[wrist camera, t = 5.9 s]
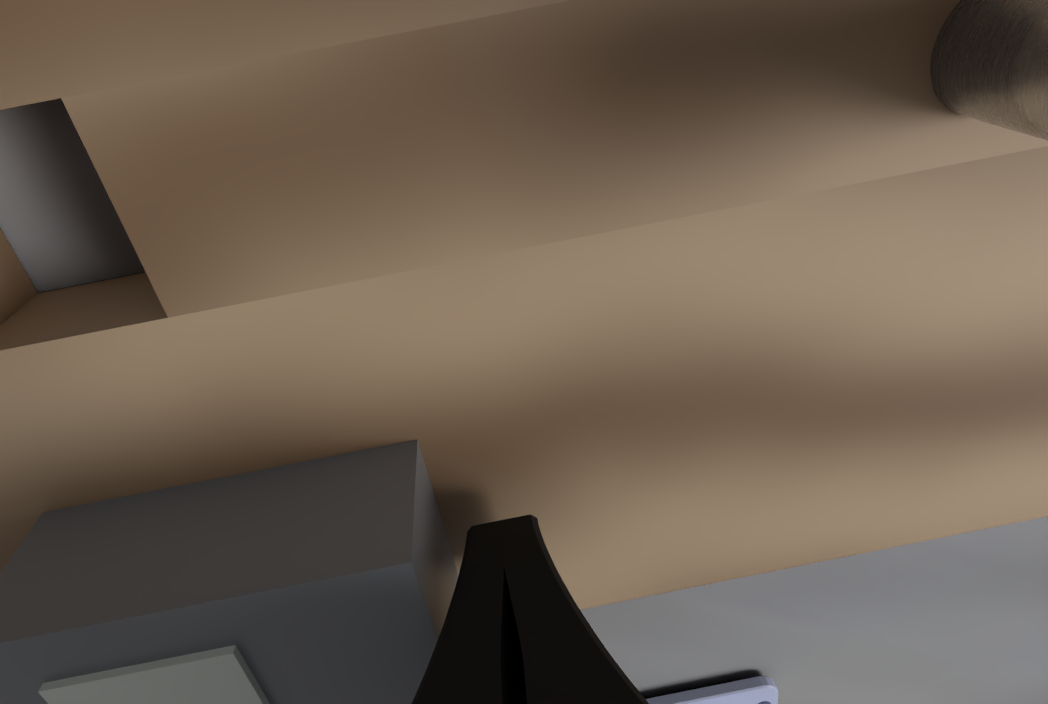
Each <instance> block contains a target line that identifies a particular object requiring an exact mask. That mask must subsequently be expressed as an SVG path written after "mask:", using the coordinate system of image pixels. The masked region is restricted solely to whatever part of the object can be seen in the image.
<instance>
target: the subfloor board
mask: <svg viewBox="0 0 1048 704" xmlns="http://www.w3.org/2000/svg"><path fill="white" fill-rule="evenodd" d="M960 1H961V0H0V110H2V109H7V108H13V107H18V106H23V105H28V104H33V103H39V102H44V101H49V100H54V99H59V98H61V99H62V101H63V103H64V105H65V107H66V109H67V111H68V113H69V116H70V118H71V120H72V122H73V124H74V126H75V128H76V130H77V132H78V134H79V136H80V138H81V140H82V142H83V144H84V146H85V148H86V150H87V153H88V155H89V157H90V159H91V161H92V163H93V165H94V167H95V169H96V171H97V173H98V175H99V177H100V179H101V181H102V183H103V185H104V187H105V190H106V192H107V194H108V196H109V198H110V200H111V202H112V204H113V206H114V208H115V210H116V212H117V214H118V216H119V218H120V220H121V222H122V224H123V226H124V229H125V231H126V233H127V235H128V237H129V239H130V241H131V243H132V245H133V247H134V249H135V251H136V253H137V255H138V257H139V259H140V261H141V263H142V266H143V268H144V270H145V272H146V273H141V274H135V275H130V276H125V277H120V278H115V279H110V280H105V281H99V282H94V283H89V284H84V285H79V286H74V287H69V288H63V289H58V290H53V291H48V292H43V293H38V292H37V290H36V288H35V287H34V285H33V283H32V281H31V280H30V278H29V276H28V275H27V273H26V271H25V269H24V268H23V266H22V264H21V263H20V261H19V259H18V257H17V256H16V254H15V252H14V251H13V249H12V247H11V245H10V244H9V242H8V240H7V239H6V237H5V235H4V233H3V232H2V230H1V228H0V572H1V570H2V569H3V568H4V566H5V565H6V563H7V562H8V561H9V559H10V558H11V557H12V555H13V554H14V552H15V551H16V550H17V548H18V547H19V546H20V544H21V543H22V541H23V540H24V539H25V537H26V536H27V535H28V533H29V532H30V530H31V529H32V528H33V526H34V525H35V524H36V522H37V521H38V519H39V518H40V517H41V515H42V514H43V513H44V512H47V511H52V510H57V509H63V508H68V507H73V506H78V505H83V504H88V503H93V502H99V501H104V500H109V499H114V498H119V497H124V496H129V495H134V494H140V493H145V492H150V491H155V490H160V489H165V488H170V487H175V486H181V485H186V484H191V483H196V482H201V481H206V480H211V479H217V478H222V477H227V476H232V475H237V474H242V473H247V472H252V471H258V470H263V469H268V468H273V467H278V466H283V465H288V464H294V463H299V462H304V461H309V460H314V459H319V458H324V457H330V456H335V455H340V454H345V453H350V452H355V451H360V450H365V449H371V448H376V447H381V446H386V445H391V444H396V443H401V442H407V441H412V440H417V439H418V443H419V446H420V449H421V453H422V456H423V459H424V462H425V466H426V469H427V472H428V476H429V479H430V482H431V485H432V489H433V492H434V495H435V499H436V502H437V505H438V509H439V512H440V515H441V518H442V522H443V525H444V528H445V532H446V535H447V538H448V542H449V545H450V548H451V551H452V555H453V558H454V561H455V565H456V568H457V571H458V575H459V571H460V567H461V563H462V559H463V554H464V549H465V544H466V537H467V531H468V530H469V529H470V528H471V526H474V525H479V524H484V523H489V522H494V521H499V520H504V519H509V518H514V517H520V516H525V515H530V514H531V515H533V516H535V517H536V518H537V519H538V524H539V528H540V531H541V534H542V537H543V540H544V542H545V545H546V547H547V550H548V552H549V554H550V556H551V558H552V560H553V563H554V565H555V567H556V569H557V571H558V573H559V575H560V576H561V578H562V580H563V582H564V584H565V585H566V587H567V589H568V591H569V592H570V594H571V596H572V598H573V599H574V601H575V603H576V604H577V606H578V608H579V609H580V610H581V609H586V608H591V607H596V606H601V605H606V604H611V603H616V602H621V601H626V600H631V599H636V598H641V597H646V596H651V595H656V594H661V593H666V592H671V591H676V590H681V589H686V588H691V587H696V586H701V585H706V584H711V583H716V582H721V581H726V580H731V579H736V578H741V577H746V576H751V575H756V574H761V573H766V572H771V571H776V570H781V569H786V568H791V567H796V566H801V565H806V564H811V563H816V562H821V561H826V560H831V559H836V558H841V557H846V556H851V555H856V554H861V553H866V552H871V551H876V550H881V549H886V548H891V547H896V546H901V545H906V544H911V543H916V542H921V541H926V540H931V539H936V538H941V537H946V536H951V535H956V534H961V533H966V532H971V531H976V530H981V529H986V528H991V527H996V526H1001V525H1006V524H1011V523H1016V522H1021V521H1026V520H1031V519H1036V518H1041V517H1046V516H1048V141H1047V140H1044V139H1040V138H1037V137H1033V136H1030V135H1027V134H1023V133H1020V132H1016V131H1013V130H1009V129H1006V128H1003V127H999V126H996V125H992V124H989V123H985V122H982V121H979V120H975V119H972V118H968V117H965V116H961V115H958V114H956V113H953V112H952V111H950V110H948V109H947V108H946V107H945V106H943V104H942V103H941V102H940V101H939V100H938V98H937V96H936V94H935V92H934V89H933V87H932V82H931V75H930V65H931V56H932V51H933V48H934V44H935V41H936V38H937V36H938V34H939V31H940V29H941V27H942V26H943V24H944V22H945V20H946V19H947V17H948V16H949V14H950V13H951V11H952V10H953V9H954V8H955V6H956V5H957V4H958V3H959V2H960Z"/></svg>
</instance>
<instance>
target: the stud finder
mask: <svg viewBox="0 0 1048 704" xmlns="http://www.w3.org/2000/svg"><path fill="white" fill-rule="evenodd" d="M457 579H458V571H457V568H456V565H455V561H454V558H453V555H452V551H451V548H450V545H449V542H448V538H447V535H446V532H445V528H444V525H443V522H442V518H441V515H440V512H439V509H438V505H437V502H436V499H435V495H434V492H433V489H432V485H431V482H430V479H429V476H428V472H427V469H426V466H425V462H424V459H423V456H422V453H421V449H420V446H419V443H418V439H417V440H412V441H407V442H401V443H396V444H391V445H386V446H381V447H376V448H371V449H365V450H360V451H355V452H350V453H345V454H340V455H335V456H330V457H324V458H319V459H314V460H309V461H304V462H299V463H294V464H288V465H283V466H278V467H273V468H268V469H263V470H258V471H252V472H247V473H242V474H237V475H232V476H227V477H222V478H217V479H211V480H206V481H201V482H196V483H191V484H186V485H181V486H175V487H170V488H165V489H160V490H155V491H150V492H145V493H140V494H134V495H129V496H124V497H119V498H114V499H109V500H104V501H99V502H93V503H88V504H83V505H78V506H73V507H68V508H63V509H57V510H52V511H47V512H44V513H43V514H42V515H41V517H40V518H39V519H38V521H37V522H36V524H35V525H34V526H33V528H32V529H31V530H30V532H29V533H28V535H27V536H26V537H25V539H24V540H23V541H22V543H21V544H20V546H19V547H18V548H17V550H16V551H15V552H14V554H13V555H12V557H11V558H10V559H9V561H8V562H7V563H6V565H5V566H4V568H3V569H2V570H1V572H0V704H411V703H412V701H413V699H414V697H415V695H416V693H417V690H418V688H419V686H420V683H421V681H422V679H423V676H424V674H425V672H426V669H427V667H428V664H429V662H430V659H431V656H432V654H433V651H434V649H435V646H436V643H437V641H438V638H439V635H440V633H441V630H442V627H443V624H444V621H445V618H446V615H447V612H448V609H449V606H450V602H451V599H452V596H453V593H454V590H455V586H456V582H457Z"/></svg>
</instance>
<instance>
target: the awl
mask: <svg viewBox="0 0 1048 704" xmlns="http://www.w3.org/2000/svg"><path fill="white" fill-rule="evenodd" d="M930 75H931V82H932V87H933V89H934V92H935V94H936V96H937V98H938V100H939V101H940V102H941V103H942V104H943V106H945V107H946V108H947V109H948V110H950V111H952V112H953V113H956V114H958V115H961V116H965V117H968V118H972V119H975V120H979V121H982V122H985V123H989V124H992V125H996V126H999V127H1003V128H1006V129H1009V130H1013V131H1016V132H1020V133H1023V134H1027V135H1030V136H1033V137H1037V138H1040V139H1044V140H1047V141H1048V0H961V1H960V2H959V3H958V4H957V5H956V6H955V8H954V9H953V10H952V11H951V13H950V14H949V16H948V17H947V19H946V20H945V22H944V24H943V26H942V27H941V29H940V31H939V34H938V36H937V38H936V41H935V44H934V48H933V51H932V56H931V65H930Z"/></svg>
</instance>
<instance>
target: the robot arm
mask: <svg viewBox="0 0 1048 704" xmlns="http://www.w3.org/2000/svg"><path fill="white" fill-rule="evenodd" d="M411 704H778V690H777V687H776V685H775V683H774V681H773V680H772V679H771V678H770V677H766V676H758V677H753V678H748V679H743V680H738V681H733V682H728V683H723V684H718V685H713V686H708V687H703V688H698V689H693V690H688V691H683V692H678V693H673V694H668V695H663V696H658V697H653V698H648V699H645V698H644V697H643V696H642V695H641V693H640V692H639V691H638V690H637V688H636V687H635V686H634V685H633V684H632V682H631V681H630V680H629V679H628V677H627V676H626V675H625V674H624V672H623V671H622V670H621V668H620V667H619V666H618V664H617V663H616V662H615V661H614V659H613V658H612V656H611V655H610V654H609V652H608V651H607V650H606V648H605V647H604V645H603V644H602V643H601V641H600V640H599V638H598V637H597V635H596V634H595V632H594V631H593V629H592V628H591V626H590V625H589V623H588V622H587V620H586V619H585V617H584V616H583V614H582V612H581V611H580V609H579V608H578V606H577V604H576V603H575V601H574V599H573V598H572V596H571V594H570V592H569V591H568V589H567V587H566V585H565V584H564V582H563V580H562V578H561V576H560V575H559V573H558V571H557V569H556V567H555V565H554V563H553V560H552V558H551V556H550V554H549V552H548V550H547V547H546V545H545V542H544V540H543V537H542V534H541V531H540V528H539V524H538V519H537V518H536V517H535V516H533V515H531V514H530V515H525V516H520V517H514V518H509V519H504V520H499V521H494V522H489V523H484V524H479V525H474V526H471V528H470V529H469V530H468V531H467V537H466V544H465V549H464V554H463V559H462V563H461V567H460V571H459V575H458V579H457V582H456V586H455V590H454V593H453V596H452V599H451V602H450V606H449V609H448V612H447V615H446V618H445V621H444V624H443V627H442V630H441V633H440V635H439V638H438V641H437V643H436V646H435V649H434V651H433V654H432V656H431V659H430V662H429V664H428V667H427V669H426V672H425V674H424V676H423V679H422V681H421V683H420V686H419V688H418V690H417V693H416V695H415V697H414V699H413V701H412V703H411Z"/></svg>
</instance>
